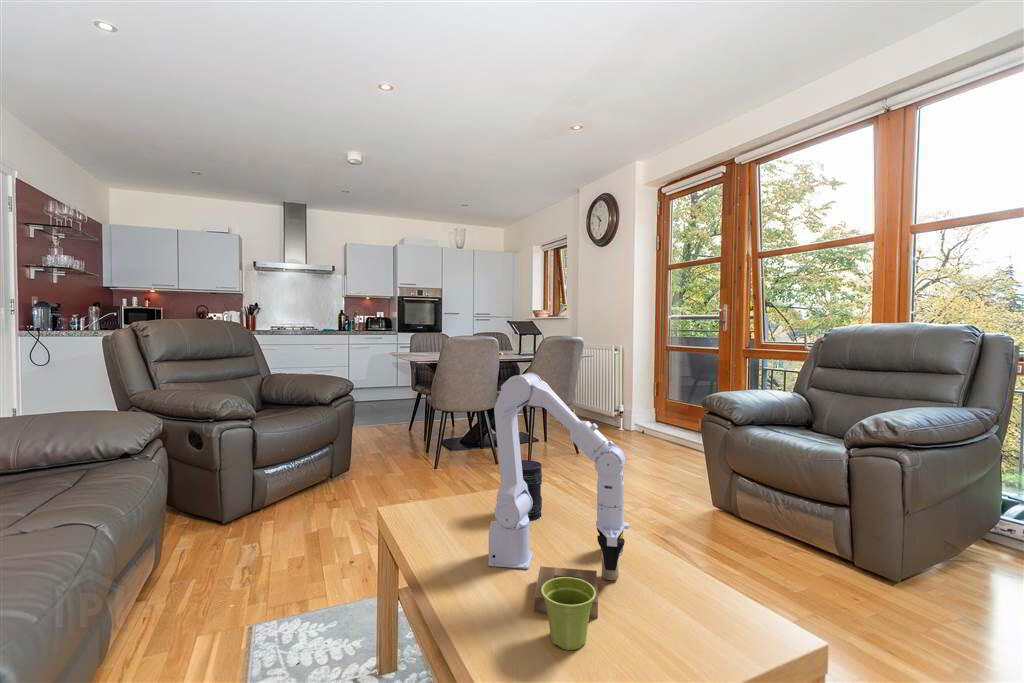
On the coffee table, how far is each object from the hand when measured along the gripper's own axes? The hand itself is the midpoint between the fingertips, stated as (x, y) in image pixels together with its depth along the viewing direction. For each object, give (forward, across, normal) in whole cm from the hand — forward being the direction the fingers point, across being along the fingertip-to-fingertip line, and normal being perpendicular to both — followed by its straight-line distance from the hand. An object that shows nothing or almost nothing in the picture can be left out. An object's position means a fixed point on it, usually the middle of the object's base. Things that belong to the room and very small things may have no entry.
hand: (610, 564), depth 103 cm
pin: (+2, 0, 0) cm, 2 cm away
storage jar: (+3, +33, +23) cm, 40 cm away
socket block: (+3, -9, +9) cm, 13 cm away
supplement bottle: (+3, +13, -1) cm, 13 cm away
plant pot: (+3, -22, +8) cm, 24 cm away
